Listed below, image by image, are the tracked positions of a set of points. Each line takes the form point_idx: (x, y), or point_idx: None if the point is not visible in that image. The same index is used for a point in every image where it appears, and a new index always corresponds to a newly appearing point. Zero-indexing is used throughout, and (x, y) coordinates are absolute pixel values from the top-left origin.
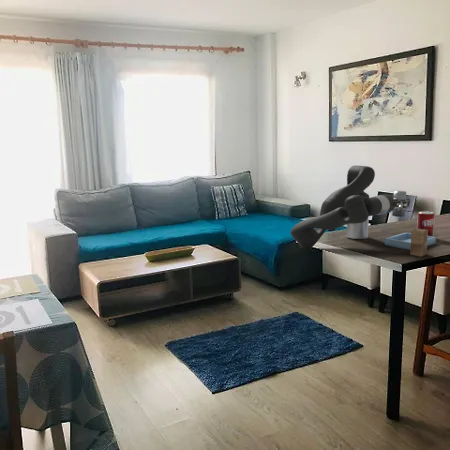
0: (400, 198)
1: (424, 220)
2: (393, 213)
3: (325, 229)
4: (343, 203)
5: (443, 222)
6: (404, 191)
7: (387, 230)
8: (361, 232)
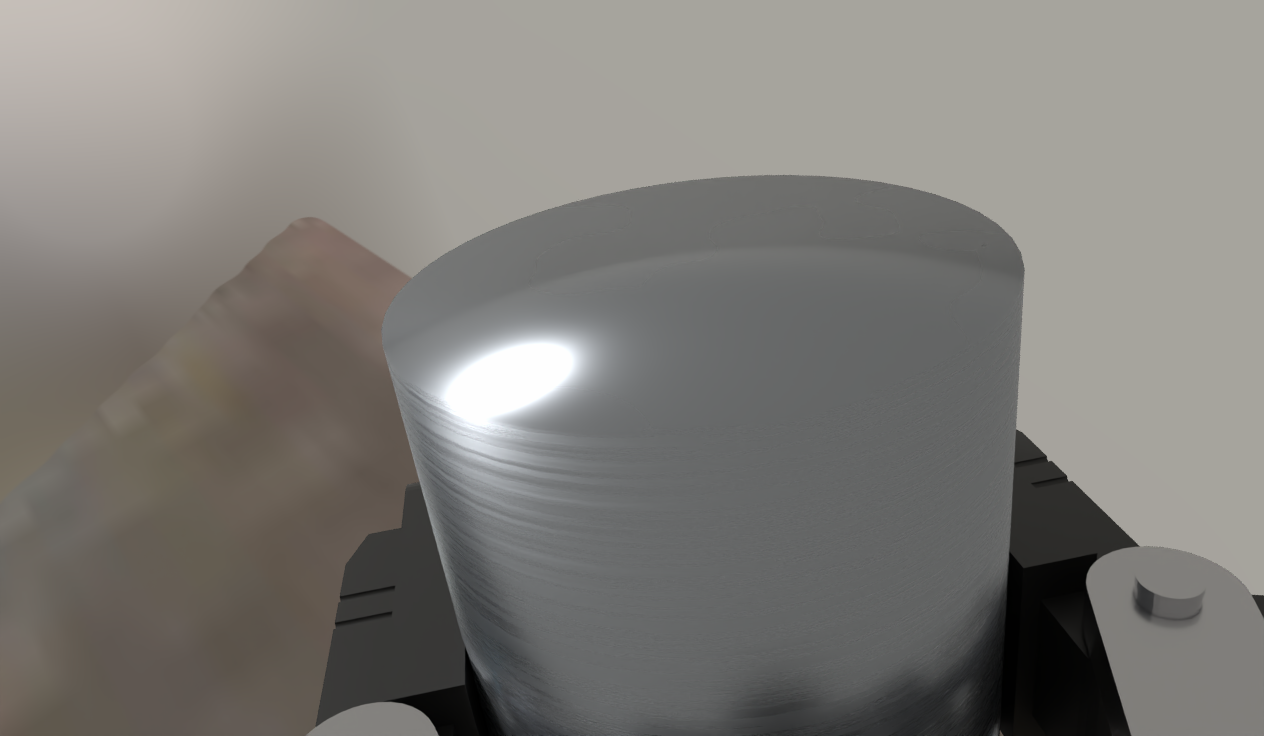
0: (978, 631)
1: None
2: None
3: None
4: None
5: (385, 271)
6: (754, 188)
7: (120, 596)
8: None
